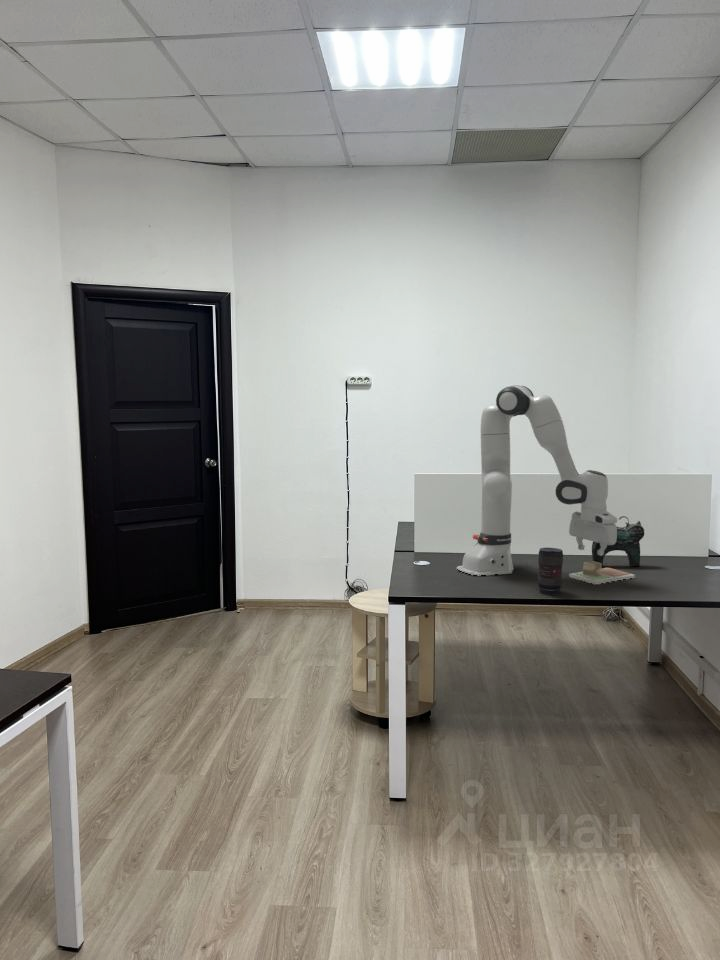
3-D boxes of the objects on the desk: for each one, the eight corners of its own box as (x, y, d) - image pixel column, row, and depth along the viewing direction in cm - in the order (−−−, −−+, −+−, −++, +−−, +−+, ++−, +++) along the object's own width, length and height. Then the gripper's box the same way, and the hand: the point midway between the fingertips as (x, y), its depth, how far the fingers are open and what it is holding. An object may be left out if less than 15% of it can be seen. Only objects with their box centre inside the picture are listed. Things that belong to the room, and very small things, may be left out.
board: (595, 584, 260) (595, 580, 259) (569, 576, 271) (569, 572, 271) (634, 578, 269) (635, 573, 269) (607, 570, 280) (608, 566, 280)
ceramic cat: (639, 564, 291) (641, 515, 288) (645, 568, 284) (647, 517, 282) (589, 564, 291) (591, 515, 289) (594, 568, 285) (596, 517, 282)
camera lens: (565, 594, 247) (566, 551, 245) (542, 595, 246) (543, 552, 244) (557, 588, 255) (558, 546, 253) (534, 589, 254) (535, 547, 252)
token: (592, 576, 264) (592, 564, 264) (583, 574, 268) (583, 562, 268) (601, 575, 267) (601, 563, 266) (592, 572, 271) (592, 560, 270)
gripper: (566, 511, 273) (563, 547, 274) (608, 520, 255) (605, 559, 257) (578, 510, 276) (576, 546, 277) (621, 519, 258) (618, 557, 259)
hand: (590, 552), depth 267 cm, fingers open, 8 cm apart
